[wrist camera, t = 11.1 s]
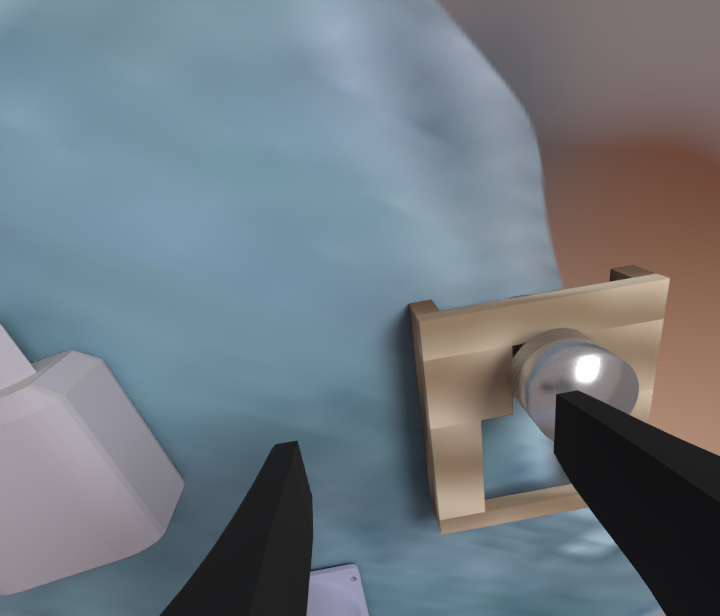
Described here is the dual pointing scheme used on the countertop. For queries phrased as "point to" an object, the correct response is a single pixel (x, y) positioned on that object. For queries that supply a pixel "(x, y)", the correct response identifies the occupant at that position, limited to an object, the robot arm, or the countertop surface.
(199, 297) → the countertop surface
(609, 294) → the keyhole plate
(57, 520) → the charger
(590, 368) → the peg
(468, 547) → the countertop surface
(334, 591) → the robot arm
